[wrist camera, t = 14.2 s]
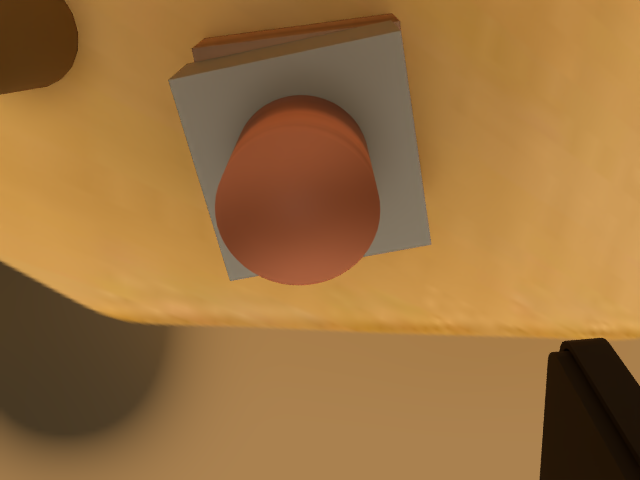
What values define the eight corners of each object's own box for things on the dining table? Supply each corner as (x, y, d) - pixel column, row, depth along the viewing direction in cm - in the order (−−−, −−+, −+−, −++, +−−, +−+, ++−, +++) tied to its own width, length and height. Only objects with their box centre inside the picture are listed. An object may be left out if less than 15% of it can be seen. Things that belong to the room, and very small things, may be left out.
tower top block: (186, 63, 30) (168, 80, 26) (391, 20, 29) (400, 30, 25) (239, 245, 34) (230, 281, 30) (419, 211, 33) (431, 244, 30)
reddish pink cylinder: (221, 107, 27) (196, 147, 21) (358, 84, 26) (368, 118, 21) (251, 231, 29) (235, 295, 24) (376, 212, 29) (389, 272, 23)
